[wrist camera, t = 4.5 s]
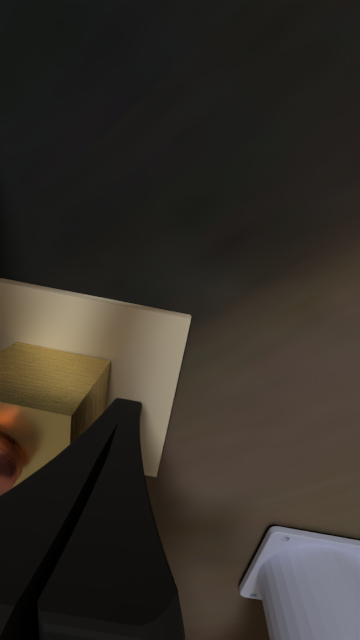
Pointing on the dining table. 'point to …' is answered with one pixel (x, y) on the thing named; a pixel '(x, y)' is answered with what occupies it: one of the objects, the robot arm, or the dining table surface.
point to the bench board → (106, 347)
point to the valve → (45, 405)
